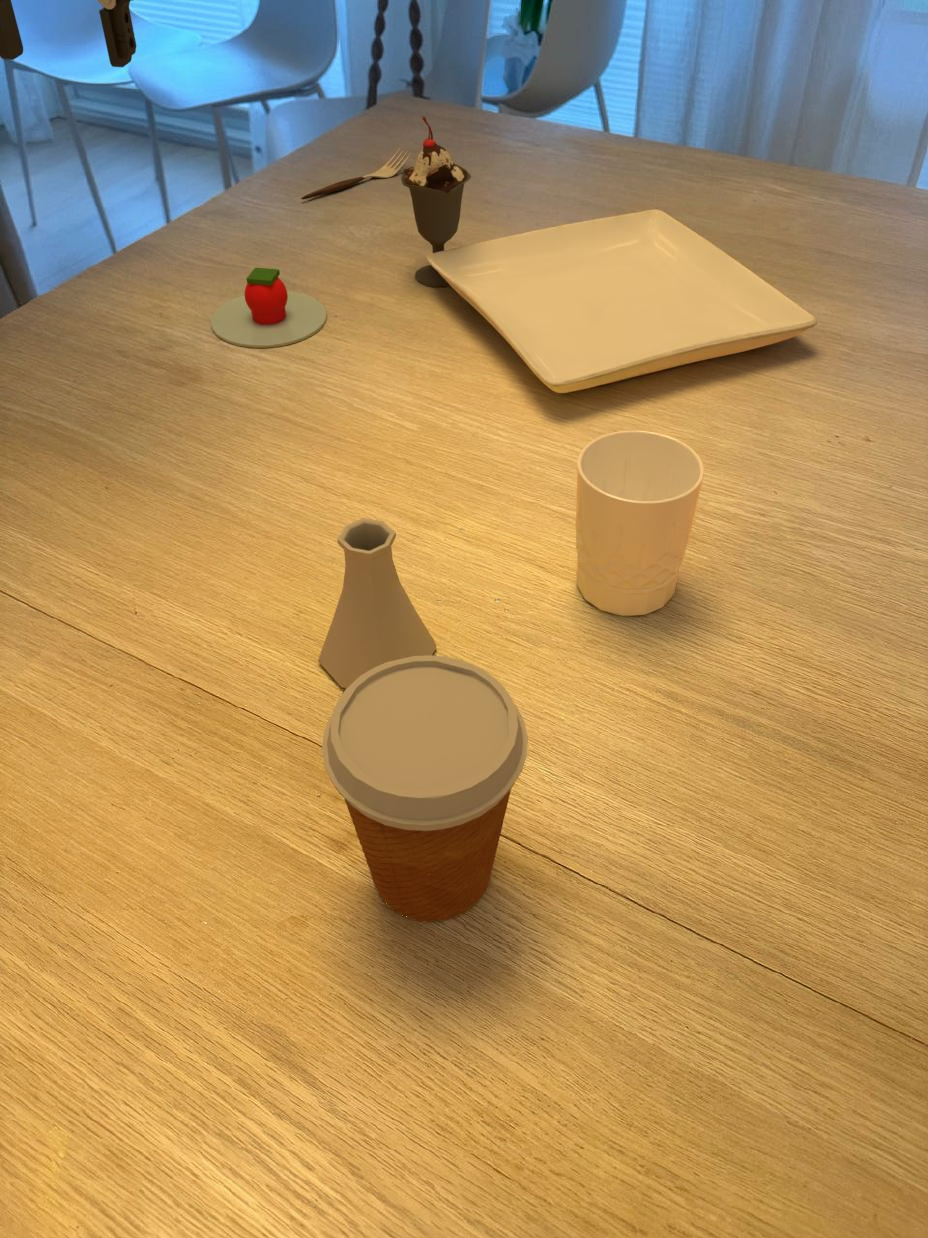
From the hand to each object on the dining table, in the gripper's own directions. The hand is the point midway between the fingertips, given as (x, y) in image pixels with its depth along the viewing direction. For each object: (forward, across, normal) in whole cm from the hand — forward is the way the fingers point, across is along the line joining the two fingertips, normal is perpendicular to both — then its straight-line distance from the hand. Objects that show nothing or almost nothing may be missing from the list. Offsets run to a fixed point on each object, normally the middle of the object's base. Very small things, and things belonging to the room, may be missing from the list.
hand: (67, 60), depth 77 cm
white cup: (+25, +45, -21) cm, 56 cm away
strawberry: (+25, +8, +11) cm, 29 cm away
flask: (+25, +30, -31) cm, 50 cm away
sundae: (+26, +22, +23) cm, 41 cm away
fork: (+26, +8, +45) cm, 53 cm away
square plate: (+25, +40, +17) cm, 50 cm away
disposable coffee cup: (+25, +36, -46) cm, 64 cm away
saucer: (+26, +8, +11) cm, 29 cm away
